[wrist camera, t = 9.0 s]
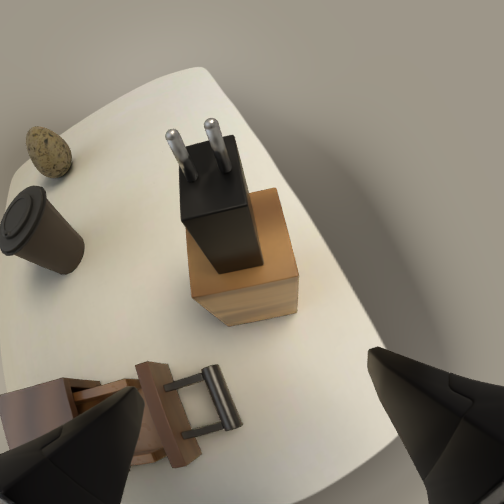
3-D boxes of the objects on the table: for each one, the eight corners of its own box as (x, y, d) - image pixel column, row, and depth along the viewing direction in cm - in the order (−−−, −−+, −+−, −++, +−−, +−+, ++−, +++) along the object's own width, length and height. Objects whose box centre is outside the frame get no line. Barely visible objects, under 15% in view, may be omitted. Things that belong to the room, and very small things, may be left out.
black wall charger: (264, 265, 16) (234, 155, 8) (218, 275, 16) (151, 178, 8) (252, 205, 18) (221, 86, 10) (210, 214, 18) (157, 104, 10)
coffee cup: (50, 296, 28) (-11, 264, 19) (45, 243, 31) (-4, 206, 22) (97, 266, 29) (38, 223, 20) (89, 213, 32) (41, 166, 23)
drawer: (217, 346, 23) (204, 340, 19) (255, 438, 19) (248, 450, 16) (74, 392, 22) (49, 390, 19) (100, 469, 19) (76, 476, 15)
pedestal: (297, 312, 24) (299, 275, 15) (227, 326, 24) (191, 298, 16) (282, 249, 26) (276, 186, 18) (218, 263, 27) (183, 208, 18)
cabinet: (100, 380, 23) (62, 377, 18) (131, 470, 19) (97, 484, 14) (30, 399, 23) (-4, 395, 18) (52, 473, 19) (20, 479, 14)
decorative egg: (51, 193, 35) (12, 154, 26) (52, 169, 38) (18, 132, 29) (80, 172, 36) (42, 128, 27) (79, 150, 38) (47, 108, 29)
